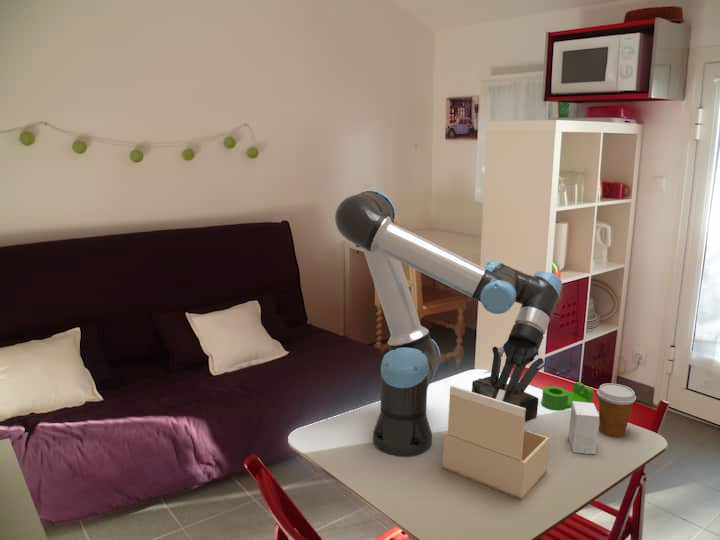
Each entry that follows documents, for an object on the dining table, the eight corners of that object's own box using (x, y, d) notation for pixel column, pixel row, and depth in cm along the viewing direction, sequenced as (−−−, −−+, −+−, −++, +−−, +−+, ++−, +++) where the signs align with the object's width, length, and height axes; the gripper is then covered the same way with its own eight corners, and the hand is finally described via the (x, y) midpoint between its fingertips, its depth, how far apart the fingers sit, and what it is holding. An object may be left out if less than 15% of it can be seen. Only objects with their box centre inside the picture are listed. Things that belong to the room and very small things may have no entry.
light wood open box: (442, 467, 144) (444, 433, 142) (470, 444, 154) (472, 412, 152) (521, 500, 132) (524, 463, 130) (546, 472, 142) (549, 437, 140)
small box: (595, 455, 150) (600, 416, 148) (572, 452, 151) (576, 414, 149) (590, 439, 158) (594, 402, 155) (568, 437, 159) (571, 400, 156)
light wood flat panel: (447, 434, 141) (450, 386, 138) (449, 433, 141) (451, 385, 139) (520, 460, 130) (524, 409, 127) (521, 459, 131) (526, 408, 128)
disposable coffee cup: (632, 442, 156) (638, 400, 154) (593, 436, 159) (597, 394, 157) (630, 426, 165) (635, 385, 162) (593, 420, 168) (597, 380, 165)
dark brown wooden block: (489, 393, 185) (490, 373, 184) (538, 418, 170) (540, 396, 168) (470, 399, 181) (471, 378, 179) (519, 425, 165) (520, 403, 164)
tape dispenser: (553, 413, 173) (554, 398, 172) (536, 402, 179) (537, 388, 178) (592, 404, 179) (594, 389, 178) (575, 394, 185) (577, 380, 184)
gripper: (558, 343, 145) (524, 432, 136) (507, 331, 153) (472, 415, 144) (552, 327, 140) (516, 420, 131) (499, 316, 148) (463, 403, 139)
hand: (493, 417), depth 138 cm, fingers closed
